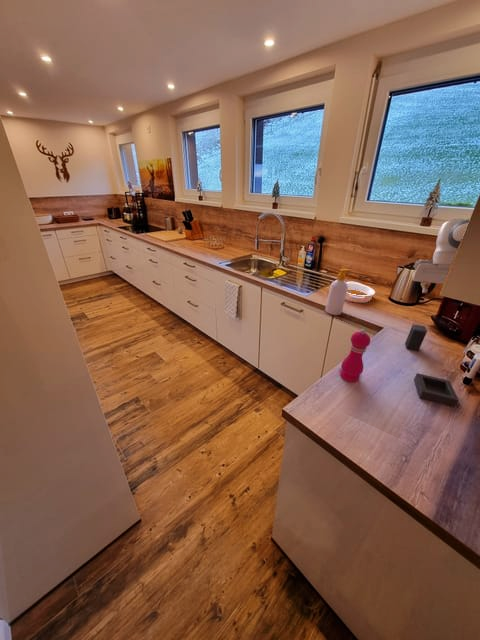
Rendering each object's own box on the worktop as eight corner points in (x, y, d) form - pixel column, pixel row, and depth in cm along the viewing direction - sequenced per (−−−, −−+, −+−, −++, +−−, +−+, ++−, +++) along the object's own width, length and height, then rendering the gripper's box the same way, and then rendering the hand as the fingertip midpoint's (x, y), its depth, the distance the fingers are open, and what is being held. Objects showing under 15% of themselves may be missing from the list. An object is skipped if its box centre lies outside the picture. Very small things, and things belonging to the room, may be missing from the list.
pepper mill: (361, 375, 96) (377, 328, 87) (357, 386, 91) (373, 337, 81) (341, 367, 100) (354, 321, 90) (336, 377, 94) (349, 330, 85)
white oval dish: (376, 308, 149) (378, 300, 146) (335, 302, 154) (337, 294, 152) (370, 290, 173) (372, 283, 171) (334, 285, 178) (336, 279, 176)
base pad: (445, 387, 92) (449, 380, 91) (454, 407, 84) (458, 400, 82) (413, 379, 95) (416, 373, 94) (419, 398, 87) (422, 391, 85)
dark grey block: (416, 346, 115) (424, 326, 111) (418, 351, 111) (427, 331, 107) (404, 343, 117) (412, 324, 112) (406, 349, 113) (414, 329, 108)
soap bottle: (345, 315, 139) (356, 272, 128) (327, 315, 139) (337, 271, 127) (339, 308, 146) (349, 267, 135) (323, 308, 146) (331, 266, 135)
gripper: (417, 258, 109) (410, 291, 111) (479, 262, 101) (470, 297, 103) (414, 260, 115) (407, 291, 117) (472, 263, 107) (464, 297, 109)
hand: (437, 294), depth 110 cm, fingers open, 8 cm apart
